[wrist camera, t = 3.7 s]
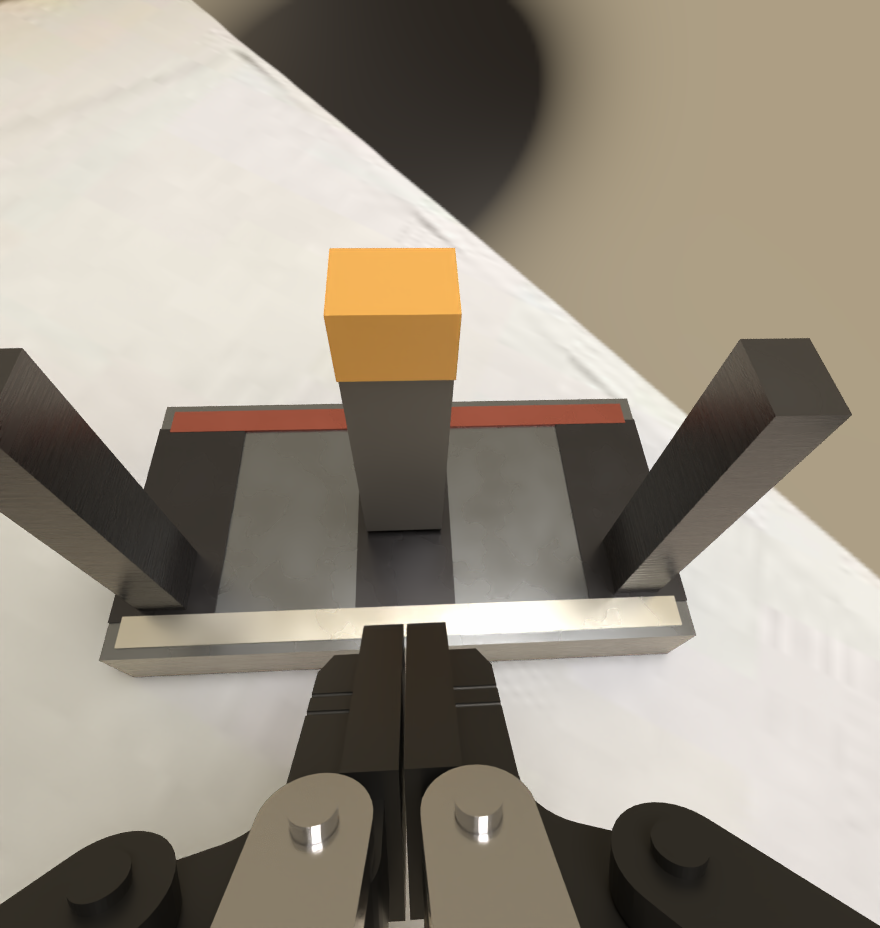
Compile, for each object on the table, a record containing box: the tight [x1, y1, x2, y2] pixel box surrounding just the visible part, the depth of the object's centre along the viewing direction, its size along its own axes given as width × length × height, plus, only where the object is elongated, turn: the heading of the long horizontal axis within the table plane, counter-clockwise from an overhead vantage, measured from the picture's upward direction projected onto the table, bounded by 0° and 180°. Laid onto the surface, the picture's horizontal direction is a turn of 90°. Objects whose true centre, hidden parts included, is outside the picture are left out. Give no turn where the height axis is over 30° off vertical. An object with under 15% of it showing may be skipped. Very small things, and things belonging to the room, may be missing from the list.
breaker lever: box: [324, 248, 462, 531], centre depth 19 cm, size 2×3×12 cm
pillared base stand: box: [0, 338, 852, 677], centre depth 21 cm, size 12×23×15 cm, turn 93°
